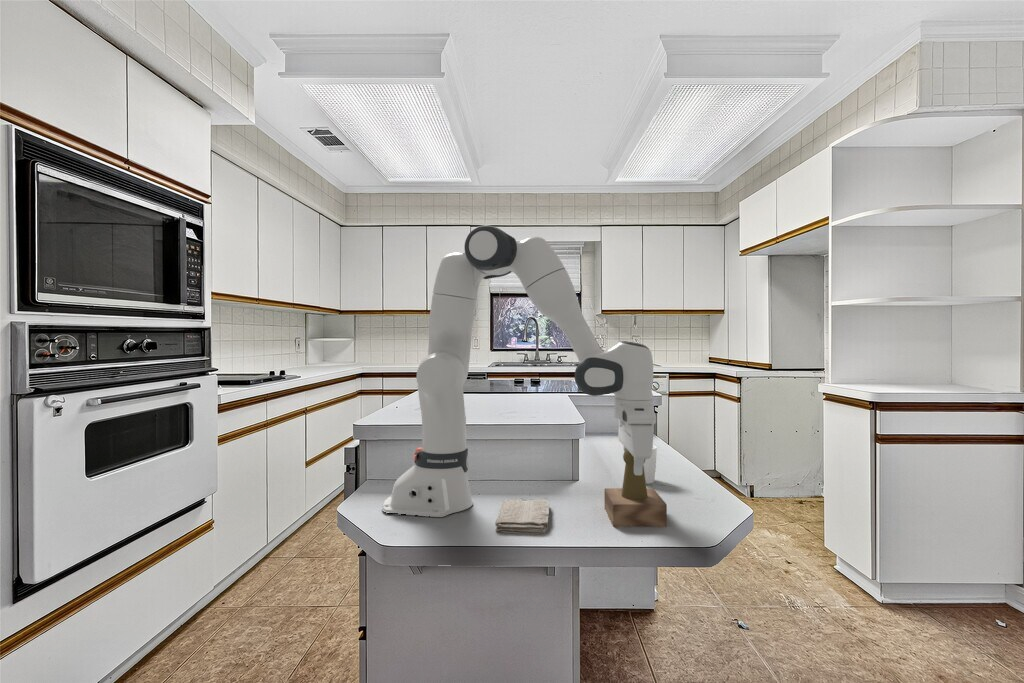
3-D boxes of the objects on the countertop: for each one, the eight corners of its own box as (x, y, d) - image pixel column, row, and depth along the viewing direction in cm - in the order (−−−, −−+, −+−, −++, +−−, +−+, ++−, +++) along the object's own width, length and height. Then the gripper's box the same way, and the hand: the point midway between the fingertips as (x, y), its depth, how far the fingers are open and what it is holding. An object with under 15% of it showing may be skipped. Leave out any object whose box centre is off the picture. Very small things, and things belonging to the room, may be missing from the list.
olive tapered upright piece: (648, 500, 122) (648, 452, 122) (622, 499, 123) (622, 452, 123) (646, 492, 128) (646, 447, 128) (620, 491, 129) (620, 446, 129)
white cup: (656, 485, 151) (656, 450, 150) (628, 483, 153) (628, 448, 152) (656, 478, 158) (657, 444, 158) (629, 476, 160) (629, 443, 160)
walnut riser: (613, 526, 120) (613, 504, 119) (604, 508, 132) (604, 488, 131) (666, 526, 119) (666, 504, 119) (653, 508, 131) (653, 488, 131)
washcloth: (494, 535, 116) (494, 521, 116) (502, 507, 134) (502, 495, 134) (548, 536, 115) (548, 522, 115) (549, 508, 133) (549, 496, 133)
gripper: (612, 404, 135) (612, 458, 136) (629, 417, 115) (628, 481, 115) (637, 404, 135) (636, 458, 136) (658, 417, 115) (657, 481, 115)
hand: (633, 469), depth 125 cm, fingers open, 8 cm apart
